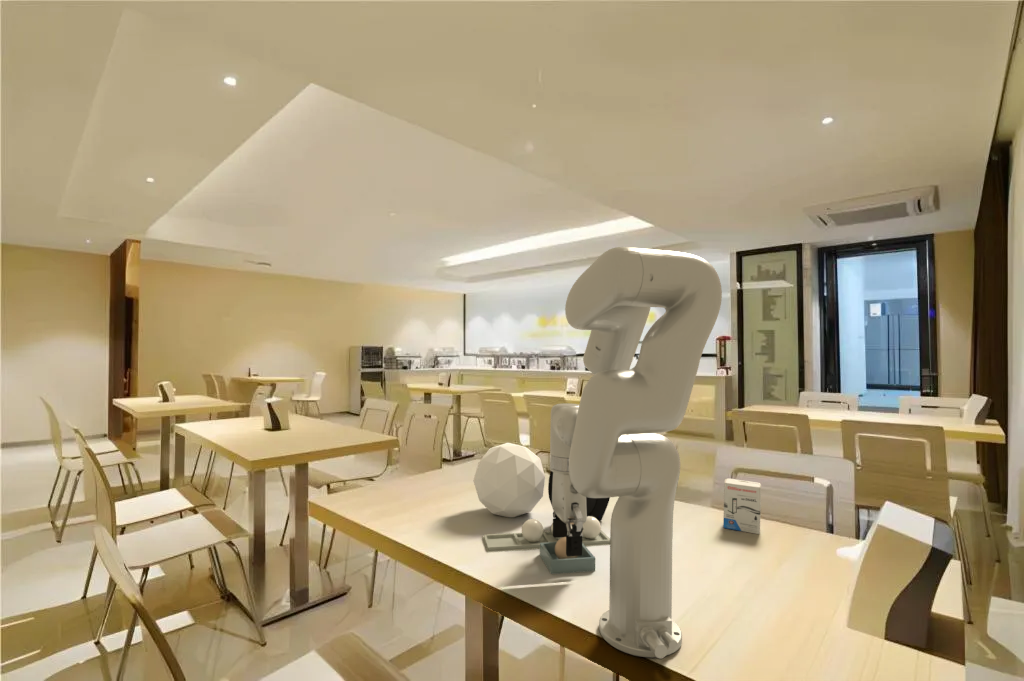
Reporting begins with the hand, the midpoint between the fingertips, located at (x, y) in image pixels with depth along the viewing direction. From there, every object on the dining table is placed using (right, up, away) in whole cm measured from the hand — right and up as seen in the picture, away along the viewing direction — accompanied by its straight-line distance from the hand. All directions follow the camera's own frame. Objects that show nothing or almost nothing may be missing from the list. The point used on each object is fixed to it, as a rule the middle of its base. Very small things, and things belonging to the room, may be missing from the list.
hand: (566, 545), depth 102 cm
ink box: (+47, -6, +23) cm, 53 cm away
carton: (-3, -4, +12) cm, 13 cm away
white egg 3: (+7, -4, +14) cm, 16 cm away
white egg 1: (-7, -4, +11) cm, 13 cm away
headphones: (+6, -5, +25) cm, 26 cm away
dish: (0, -4, 0) cm, 4 cm away
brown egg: (0, -3, 0) cm, 3 cm away
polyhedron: (-12, -5, +31) cm, 34 cm away
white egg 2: (0, -4, +12) cm, 13 cm away
